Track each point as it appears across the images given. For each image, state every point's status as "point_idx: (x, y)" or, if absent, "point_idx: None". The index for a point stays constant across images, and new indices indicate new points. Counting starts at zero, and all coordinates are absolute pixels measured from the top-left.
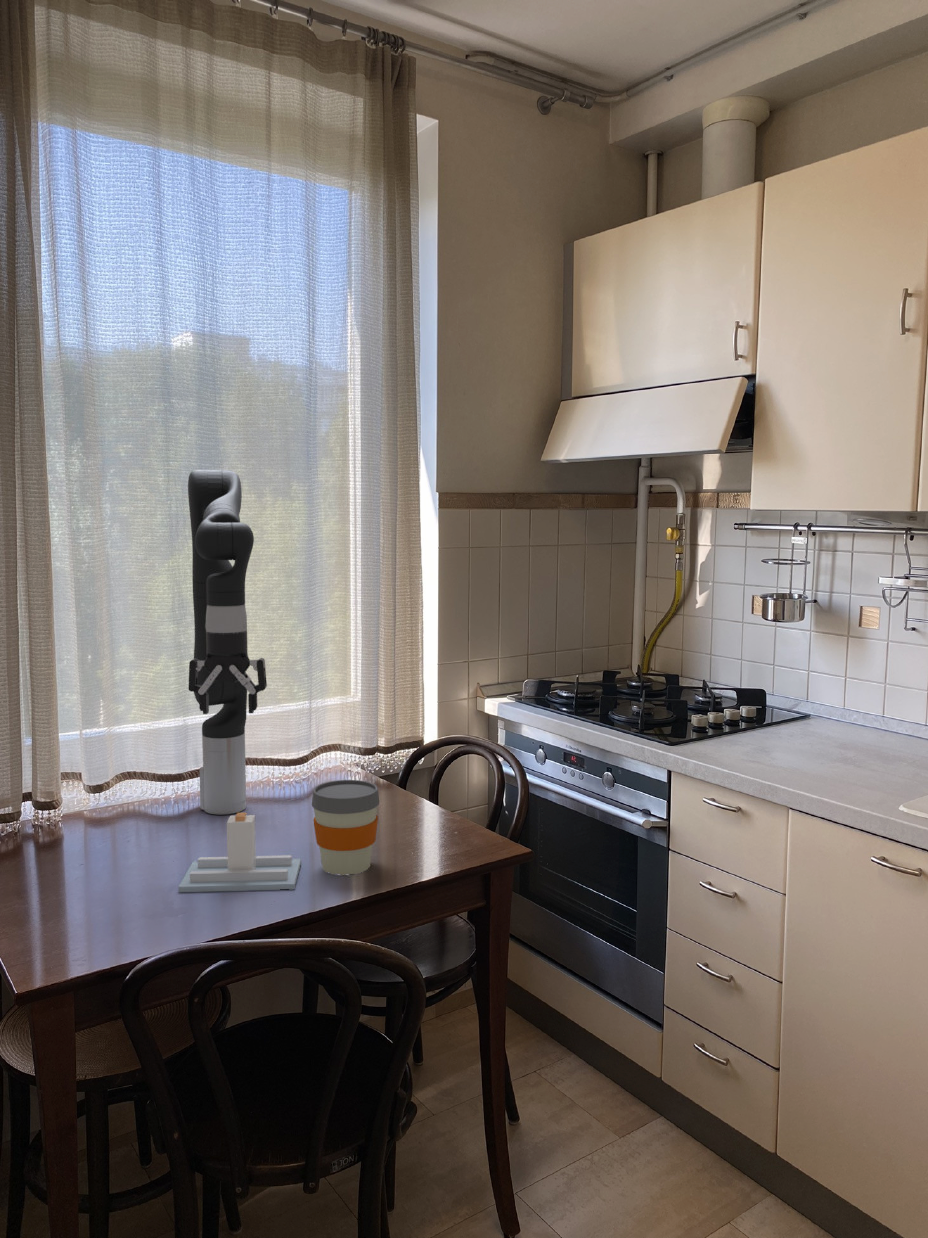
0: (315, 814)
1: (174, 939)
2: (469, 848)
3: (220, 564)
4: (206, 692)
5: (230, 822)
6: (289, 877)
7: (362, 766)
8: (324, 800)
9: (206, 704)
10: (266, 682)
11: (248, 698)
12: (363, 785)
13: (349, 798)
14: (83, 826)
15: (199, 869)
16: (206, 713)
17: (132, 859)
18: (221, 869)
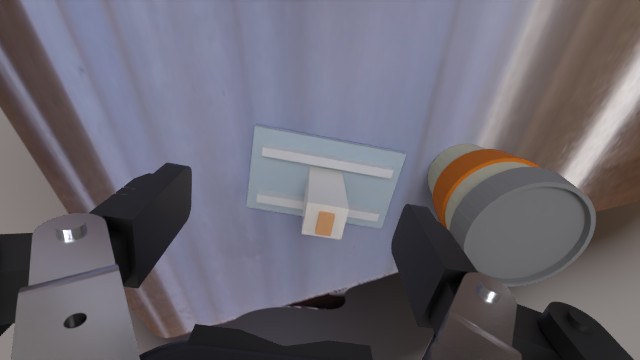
0: (448, 221)
1: (258, 297)
2: None
3: None
4: (120, 257)
5: (307, 233)
6: (379, 210)
7: None
8: None
9: (168, 242)
10: (622, 354)
11: (411, 305)
12: (578, 201)
13: (508, 286)
14: None
15: (266, 159)
16: (188, 213)
17: (156, 68)
18: (296, 165)
